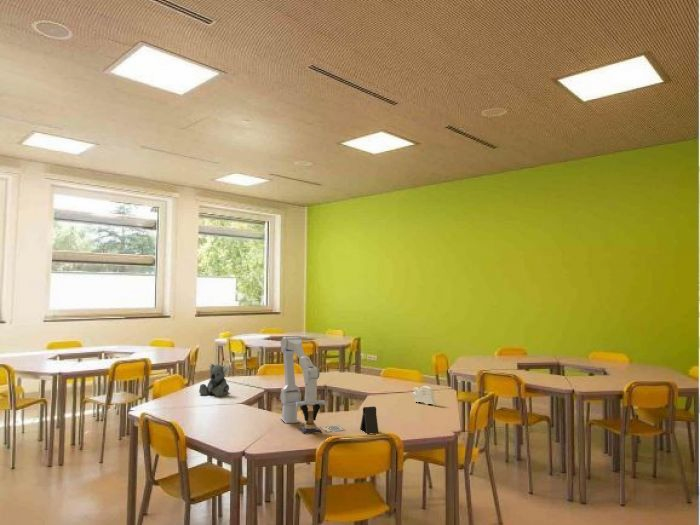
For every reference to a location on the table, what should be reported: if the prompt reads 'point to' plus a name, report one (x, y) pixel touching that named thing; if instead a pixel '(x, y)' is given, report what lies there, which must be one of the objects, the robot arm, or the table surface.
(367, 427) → the phone stand
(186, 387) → the table surface
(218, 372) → the koala plush
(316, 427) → the ink pad
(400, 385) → the table surface
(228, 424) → the table surface
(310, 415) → the stamp
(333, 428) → the desk mat
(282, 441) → the table surface
